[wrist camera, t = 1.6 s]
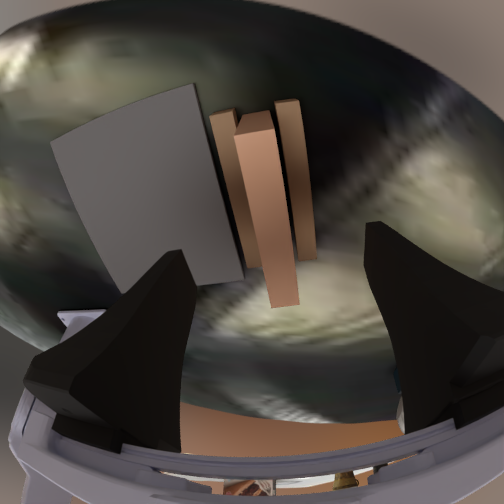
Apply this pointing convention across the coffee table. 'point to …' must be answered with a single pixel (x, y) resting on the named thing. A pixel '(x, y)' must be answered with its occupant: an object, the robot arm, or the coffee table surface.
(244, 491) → the cake mix box
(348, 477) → the ceramic cup
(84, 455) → the robot arm
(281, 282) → the tile
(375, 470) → the supplement bottle
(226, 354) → the coffee table surface
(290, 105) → the rack
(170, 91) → the mat
